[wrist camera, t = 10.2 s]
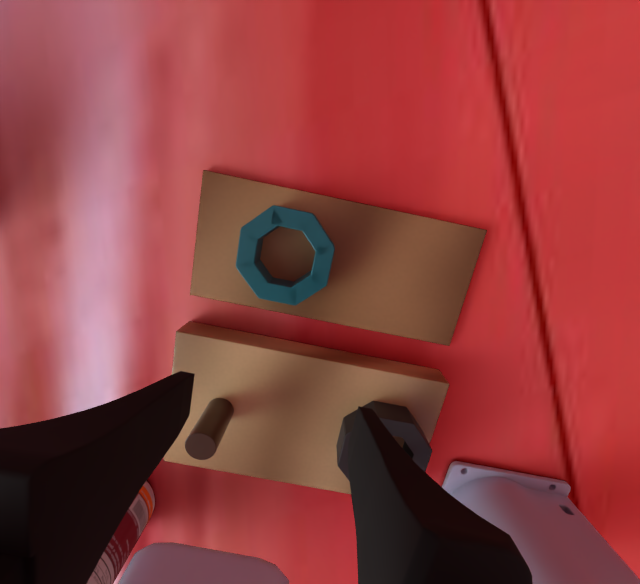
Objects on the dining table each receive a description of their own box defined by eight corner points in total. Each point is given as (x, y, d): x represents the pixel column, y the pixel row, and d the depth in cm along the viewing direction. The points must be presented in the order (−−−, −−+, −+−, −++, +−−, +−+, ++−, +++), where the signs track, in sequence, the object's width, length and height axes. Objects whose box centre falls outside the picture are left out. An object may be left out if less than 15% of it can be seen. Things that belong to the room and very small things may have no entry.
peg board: (439, 369, 22) (476, 417, 17) (402, 482, 24) (424, 556, 19) (189, 320, 21) (144, 354, 16) (176, 441, 24) (133, 506, 18)
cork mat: (484, 229, 20) (487, 230, 19) (447, 343, 21) (449, 345, 21) (205, 170, 19) (203, 169, 19) (192, 293, 21) (189, 294, 20)
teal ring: (339, 219, 19) (341, 219, 17) (321, 303, 20) (321, 311, 19) (251, 200, 19) (244, 198, 17) (239, 286, 20) (231, 293, 19)
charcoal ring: (430, 411, 20) (440, 429, 19) (407, 478, 22) (415, 501, 20) (348, 395, 20) (350, 412, 19) (331, 464, 22) (331, 486, 20)
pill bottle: (66, 494, 25) (-127, 702, 14) (110, 448, 24) (-64, 636, 13) (129, 536, 26) (-9, 762, 15) (173, 494, 25) (59, 705, 14)
